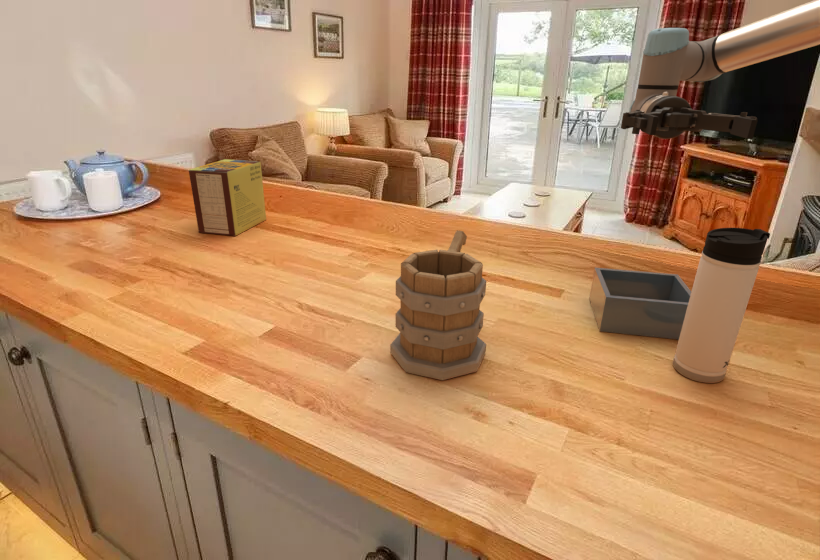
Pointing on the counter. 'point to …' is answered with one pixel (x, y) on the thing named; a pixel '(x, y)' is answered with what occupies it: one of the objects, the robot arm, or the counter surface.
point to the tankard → (440, 313)
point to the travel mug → (718, 302)
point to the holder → (639, 302)
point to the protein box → (228, 196)
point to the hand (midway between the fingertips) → (702, 127)
